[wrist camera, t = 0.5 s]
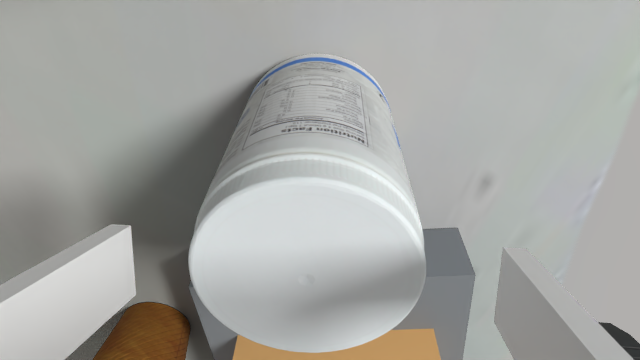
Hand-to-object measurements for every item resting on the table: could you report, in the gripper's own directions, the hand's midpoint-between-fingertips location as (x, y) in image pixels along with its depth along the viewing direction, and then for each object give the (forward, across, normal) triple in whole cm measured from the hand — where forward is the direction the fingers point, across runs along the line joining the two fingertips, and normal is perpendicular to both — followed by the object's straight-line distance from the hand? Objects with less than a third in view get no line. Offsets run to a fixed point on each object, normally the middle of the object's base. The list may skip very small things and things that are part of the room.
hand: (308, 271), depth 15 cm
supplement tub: (+15, -1, +4) cm, 16 cm away
